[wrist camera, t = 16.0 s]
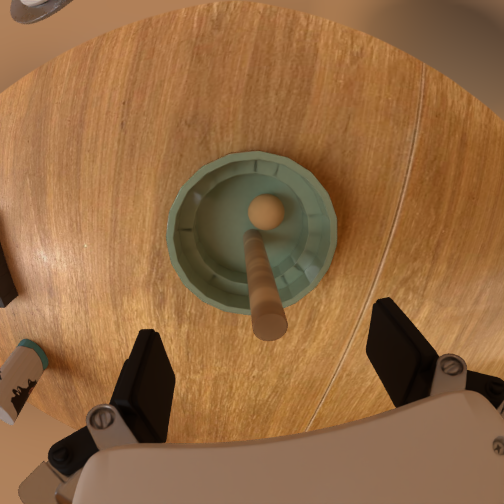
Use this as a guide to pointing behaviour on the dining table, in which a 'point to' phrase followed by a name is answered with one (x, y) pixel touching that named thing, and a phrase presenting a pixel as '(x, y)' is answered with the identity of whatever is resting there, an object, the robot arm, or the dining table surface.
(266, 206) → the dough ball
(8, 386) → the printed cylindrical canister
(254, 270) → the stick
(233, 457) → the robot arm
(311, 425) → the dining table surface
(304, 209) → the bowl
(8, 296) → the holder
